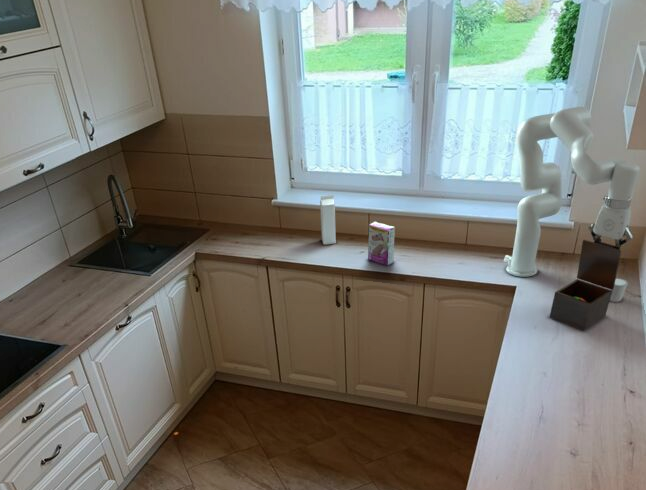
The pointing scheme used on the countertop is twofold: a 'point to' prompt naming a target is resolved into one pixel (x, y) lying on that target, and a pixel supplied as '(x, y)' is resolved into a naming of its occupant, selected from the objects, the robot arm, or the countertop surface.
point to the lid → (599, 263)
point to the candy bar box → (381, 243)
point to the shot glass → (618, 289)
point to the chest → (580, 304)
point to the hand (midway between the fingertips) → (604, 253)
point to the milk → (328, 219)
